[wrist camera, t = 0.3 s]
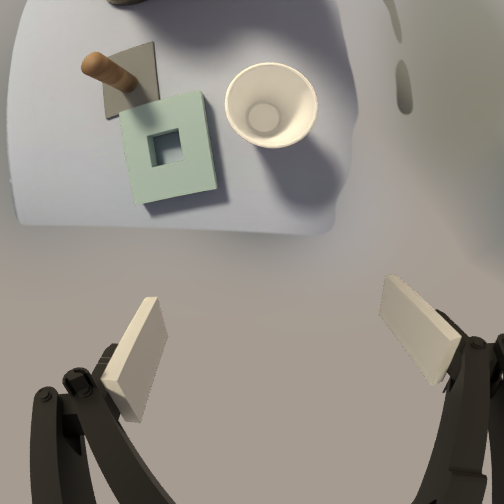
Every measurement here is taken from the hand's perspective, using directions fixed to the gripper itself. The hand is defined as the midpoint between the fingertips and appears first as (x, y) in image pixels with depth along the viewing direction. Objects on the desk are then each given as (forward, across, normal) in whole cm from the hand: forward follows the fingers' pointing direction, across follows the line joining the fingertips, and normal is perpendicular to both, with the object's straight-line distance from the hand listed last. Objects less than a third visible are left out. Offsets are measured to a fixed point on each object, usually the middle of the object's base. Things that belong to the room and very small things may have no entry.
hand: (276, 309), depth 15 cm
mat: (+27, -17, +23) cm, 40 cm away
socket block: (+27, -11, +11) cm, 31 cm away
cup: (+27, +2, +14) cm, 31 cm away
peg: (+27, -17, +22) cm, 39 cm away
